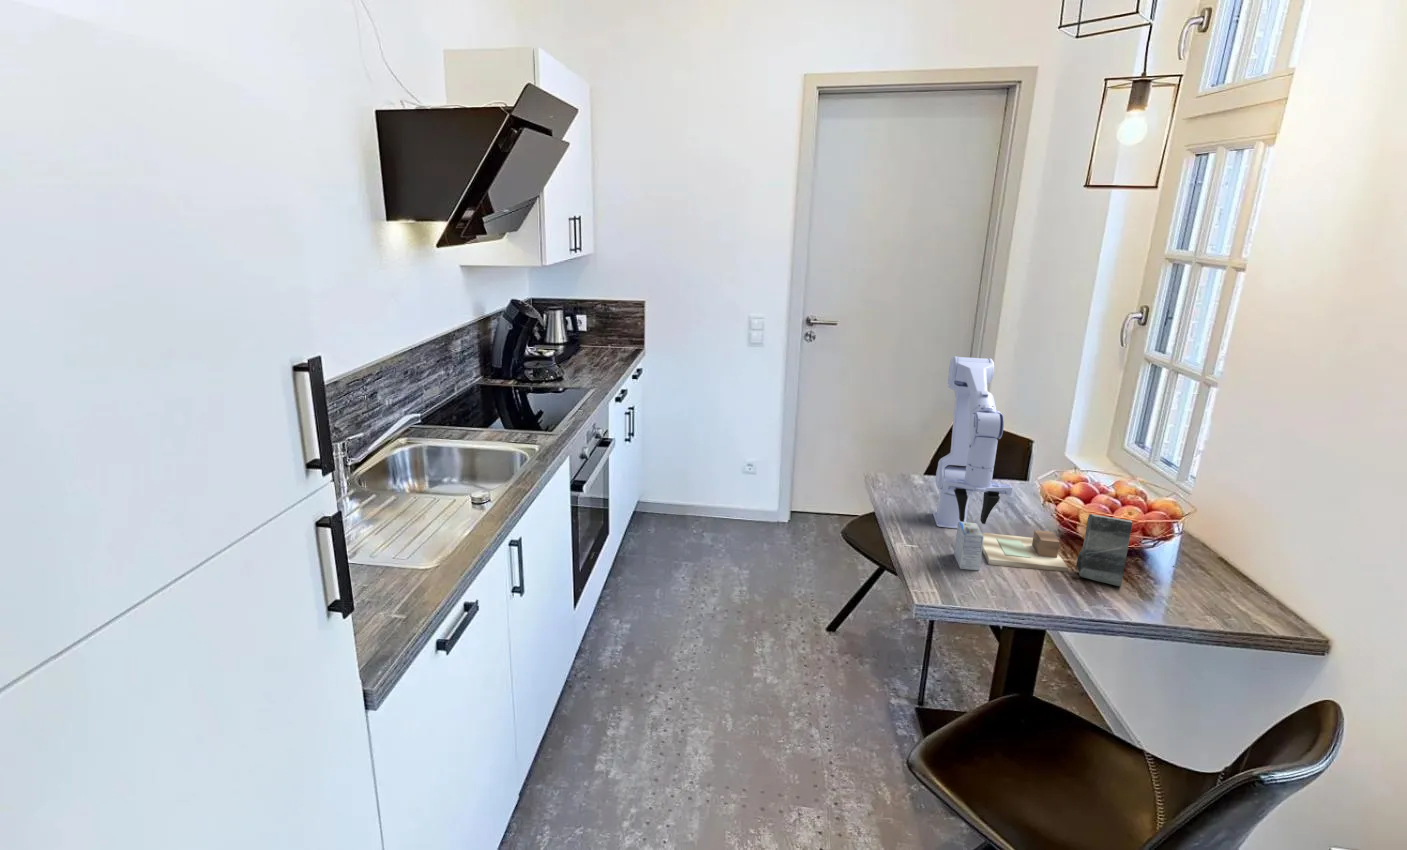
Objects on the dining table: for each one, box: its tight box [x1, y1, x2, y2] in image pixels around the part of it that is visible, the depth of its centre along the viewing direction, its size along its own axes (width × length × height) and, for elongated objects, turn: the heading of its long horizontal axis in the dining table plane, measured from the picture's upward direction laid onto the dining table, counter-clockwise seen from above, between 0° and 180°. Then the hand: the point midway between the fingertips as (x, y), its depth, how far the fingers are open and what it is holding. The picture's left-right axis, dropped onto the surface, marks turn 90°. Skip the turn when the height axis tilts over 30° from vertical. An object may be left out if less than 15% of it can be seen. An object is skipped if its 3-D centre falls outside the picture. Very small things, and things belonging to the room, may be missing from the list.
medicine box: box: [953, 521, 984, 571], centre depth 160 cm, size 8×4×9 cm, turn 170°
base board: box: [981, 532, 1069, 573], centre depth 166 cm, size 16×17×2 cm
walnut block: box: [1032, 529, 1060, 558], centre depth 164 cm, size 6×4×4 cm, turn 169°
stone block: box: [1076, 513, 1133, 587], centre depth 153 cm, size 9×14×5 cm
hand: (972, 521), depth 158 cm, fingers open, 4 cm apart
